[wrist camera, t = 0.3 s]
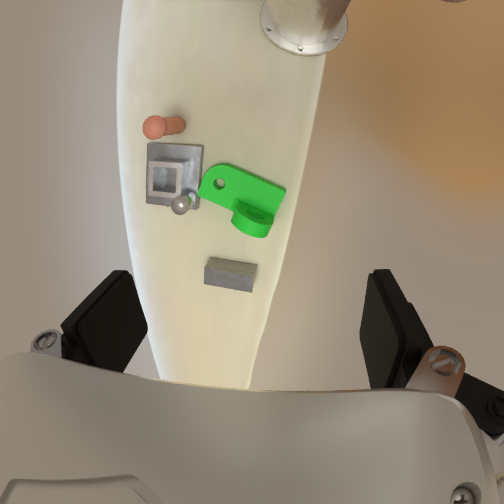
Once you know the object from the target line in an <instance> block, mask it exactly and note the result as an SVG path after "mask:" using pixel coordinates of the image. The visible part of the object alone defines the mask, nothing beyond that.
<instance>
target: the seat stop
mask: <svg viewBox="0 0 504 504" xmlns="http://www.w3.org/2000/svg"><path fill="white" fill-rule="evenodd" d="M256 269H257V265H255V264H249V263H243V262H237V261H231V260H225V259H219V258H214V257H211V258H210V259H209V261H208V263H207V265H206V266H205V269H204V284H207V285H212V286H218V287H223V288H229V289H235V290H240V291H246V292H252V290H253V286H254V281H255V276H256Z"/></svg>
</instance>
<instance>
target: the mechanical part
mask: <svg viewBox="0 0 504 504" xmlns="http://www.w3.org/2000/svg"><path fill="white" fill-rule="evenodd" d="M217 178H221V179H223V180H224V182H225V187H219V186H218V185H217V183H216V180H217ZM285 193H286V189H284V188H282V187H280V186H278V185H275V184H273V183H271V182H269V181H267V180H264V179H262V178H260V177H258V176H255V175H253V174H251V173H249V172H246V171H244V170H242V169H239V168H237V167H235V166H232V165H230V164H218V165H216V166H214V167H212V168H211V169H209V170H208V171H207V172H206V174H205V175H204V177H203V180H202V183H201V185H200V188H199V191H198V193H197V195H198V196H200V197H203V198H205V199H207V200H210V201H212V202H214V203H216V204H219V205H221V206H223V207H226V208H228V209H230V210H232V211H233V212H234V214H233V217H232V219H231V222H232V224H233V225H234V226H235V227H236V228H237V229H239V230H240V231H242V232H243V233H245V234H248V235H250V236H253V237H258V238H264V237H266V236H267V234H268V232H269V230H270V228H271V226H272V224H273V221H274V216H275V213H276V211H277V209H278V207H279V205H280V203H281V201H282V199H283V197H284V195H285Z"/></svg>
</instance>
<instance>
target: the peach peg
mask: <svg viewBox="0 0 504 504" xmlns="http://www.w3.org/2000/svg"><path fill="white" fill-rule="evenodd" d="M185 126H186V124H185V121H184V120H183V119H182V118H180V117H167V118H162V117H161V116H150V117H148V118H147V119H146V120H145V122H144V124H143V133H144V135H145V136H146V137H147V138H148V139H151V140H155V139H159V138H161V137H162V136H165V135H171V134H178V133H181V132H183V131H184V129H185Z"/></svg>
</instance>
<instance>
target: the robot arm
mask: <svg viewBox="0 0 504 504" xmlns="http://www.w3.org/2000/svg"><path fill="white" fill-rule="evenodd" d="M350 1H351V0H266V1H265V3H264V5H263V7H262V10H261V19H260V20H261V24H262V28H263V30H264V32H265V34H266V36H267V37H268V38H269V39H270V41H271V42H272V43H274V44H275V45H276V46H277V47H279V48H281V49H283V50H284V51H286V52H289V53H292V54H296V55H301V56H315V55H320V54H324V53H327V52H329V51H331V50H333V49H334V48H335V47H337V46H338V45H339V44H340V43H341V41H342V40H343V39H344V37H345V35H346V32H347V29H348V20H347V15H346V13H345V11H346V9H347V7H348V4H349V3H350ZM441 1H445V2H451V3H458V2H463V1H465V0H441ZM269 29H270V30H271V31H268V30H269ZM334 39H336V40H337V42H335V41H334ZM299 49H302V52H300V51H299ZM61 328H62V330H63V332H64V333H63V334H62V335H61V333H60V332H59V331H58V330H55V329H51V330H46V331H44V332H42V333H40V334H38V335H37V336H36V337H35V338H34V340H33V341H32V343H31V349H30V352H23V353H15V354H11V355H8V356H6V357H4V358H3V359H2V360H0V504H504V391H502V390H500V389H498V388H496V387H494V386H492V385H490V384H487V383H485V382H483V381H481V380H479V379H477V378H475V377H473V376H471V375H469V374H466V373H465V372H464V371H465V366H466V364H465V360H464V358H463V357H462V355H461V354H460V353H459V352H458V351H456V350H455V349H453V348H451V347H447V346H435V347H434V345H433V343H432V341H431V339H430V337H429V335H428V333H427V331H426V329H425V327H424V325H423V323H422V322H421V320H420V318H419V316H418V314H417V312H416V310H415V308H414V307H413V305H412V303H410V302H407V300H406V298H405V296H404V294H403V292H402V291H401V289H400V287H399V285H398V283H397V282H396V280H395V278H394V276H393V275H392V273H391V271H390V270H389V269H377V270H374V272H373V273H371V274H369V276H368V282H367V289H366V296H365V303H364V309H363V315H362V321H361V327H360V342H361V346H362V350H363V355H364V359H365V364H366V368H367V372H368V377H369V382H370V387H371V389H363V390H336V391H272V390H250V389H236V388H223V387H212V386H203V385H194V384H186V383H179V382H172V381H165V380H158V379H153V378H147V377H141V376H135V375H130V374H125V373H123V372H124V370H125V368H126V367H127V365H128V363H129V362H130V360H131V358H132V356H133V355H134V353H135V352H136V350H137V348H138V346H139V345H140V343H141V342H142V340H143V339H144V337H145V335H146V334H147V331H148V326H147V322H146V319H145V316H144V313H143V310H142V307H141V304H140V300H139V297H138V294H137V290H136V287H135V284H134V280H133V277H132V275H131V274H129V272H128V271H126V270H115V271H113V272H112V273H111V274H110V275H109V276H108V277H107V278H106V279H104V280H103V281H102V283H100V284H99V285H98V286H97V287H96V288H95V289H94V290H93V291H92V293H90V294H89V295H88V296H87V297H86V299H84V301H83V302H82V303H81V304H80V305H79V306H78V307H77V308H76V309H75V310H74V311H73V312H72V313H71V314H70V315H69V316H68V317H67V318H66V319H65V320H64V321H63V323H62V324H61Z"/></svg>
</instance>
